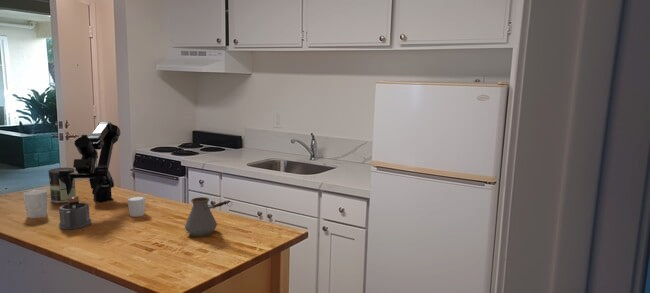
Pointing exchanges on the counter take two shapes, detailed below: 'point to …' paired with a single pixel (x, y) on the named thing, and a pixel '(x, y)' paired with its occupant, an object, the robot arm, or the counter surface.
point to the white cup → (36, 203)
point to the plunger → (73, 201)
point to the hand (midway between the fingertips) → (80, 194)
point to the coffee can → (60, 186)
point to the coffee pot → (202, 217)
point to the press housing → (74, 216)
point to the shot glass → (136, 206)
